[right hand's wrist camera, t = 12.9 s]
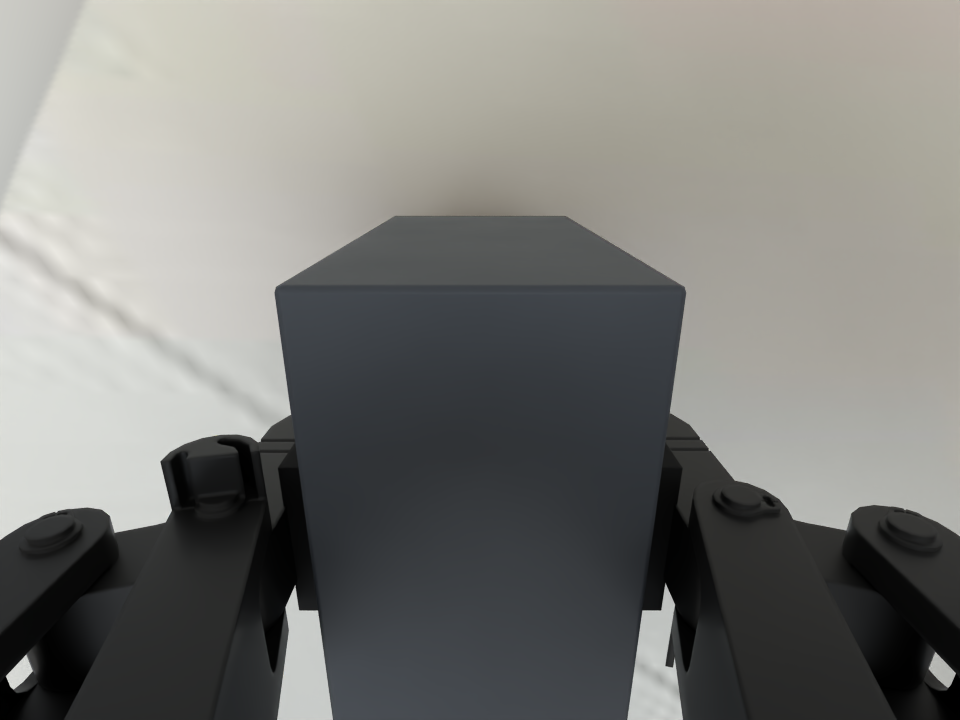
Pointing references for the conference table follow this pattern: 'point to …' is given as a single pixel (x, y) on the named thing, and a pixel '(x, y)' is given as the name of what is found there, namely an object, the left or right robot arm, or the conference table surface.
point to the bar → (480, 463)
